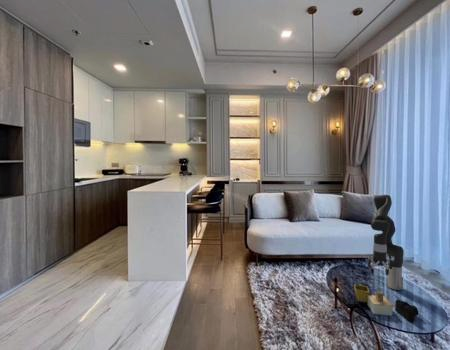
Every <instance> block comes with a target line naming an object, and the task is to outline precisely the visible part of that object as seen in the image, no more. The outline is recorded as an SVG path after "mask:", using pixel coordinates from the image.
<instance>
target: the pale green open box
mask: <svg viewBox="0 0 450 350" xmlns="http://www.w3.org/2000/svg"><path fill="white" fill-rule="evenodd" d="M367 306H368V308H369V309H370V311H371V313H373V314H374V315H383V316H393V307H391V306H381V305H373V304H372V302H371V301H370V299H369V298H368V301H367Z"/></svg>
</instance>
